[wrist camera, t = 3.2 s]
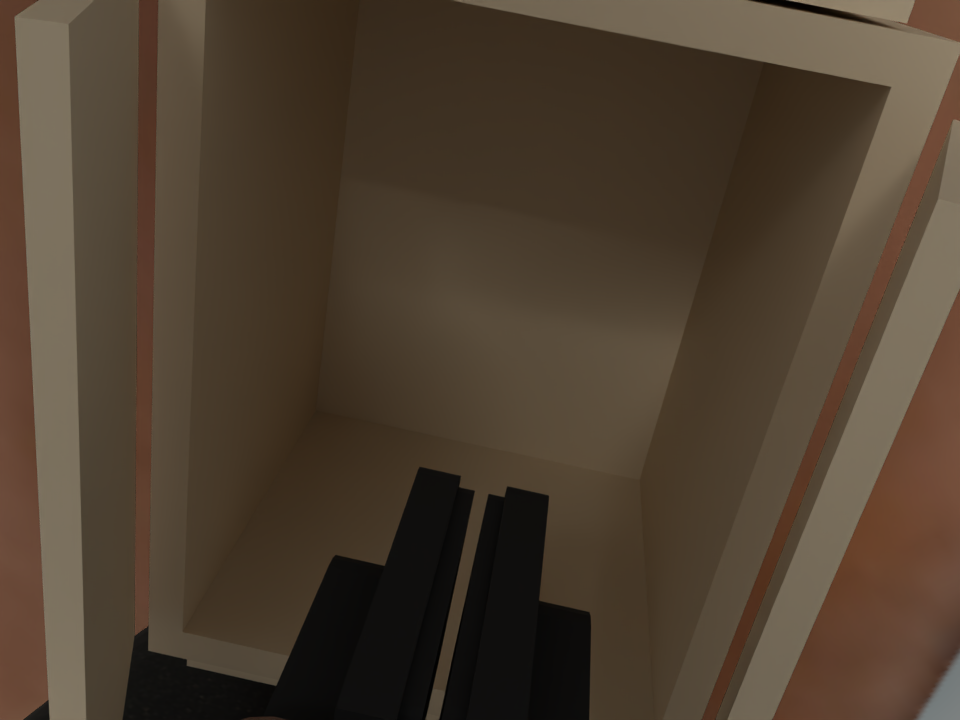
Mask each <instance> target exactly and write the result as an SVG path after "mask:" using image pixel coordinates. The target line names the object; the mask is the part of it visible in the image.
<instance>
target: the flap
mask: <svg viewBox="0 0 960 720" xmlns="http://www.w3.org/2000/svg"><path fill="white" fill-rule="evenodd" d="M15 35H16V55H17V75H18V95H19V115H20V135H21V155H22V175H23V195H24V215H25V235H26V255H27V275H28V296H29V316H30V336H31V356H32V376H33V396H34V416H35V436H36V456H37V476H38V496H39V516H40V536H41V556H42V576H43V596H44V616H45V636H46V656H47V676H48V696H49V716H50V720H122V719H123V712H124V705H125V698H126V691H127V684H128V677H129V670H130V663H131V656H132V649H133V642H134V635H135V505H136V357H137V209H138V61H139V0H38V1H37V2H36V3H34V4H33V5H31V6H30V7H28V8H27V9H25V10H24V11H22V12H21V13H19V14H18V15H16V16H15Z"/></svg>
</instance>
